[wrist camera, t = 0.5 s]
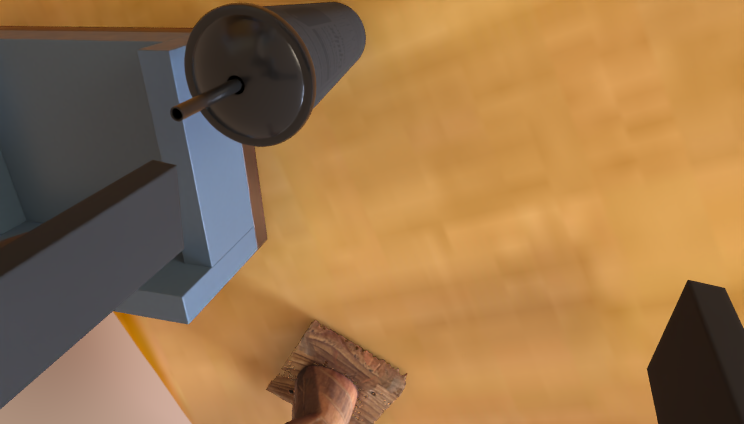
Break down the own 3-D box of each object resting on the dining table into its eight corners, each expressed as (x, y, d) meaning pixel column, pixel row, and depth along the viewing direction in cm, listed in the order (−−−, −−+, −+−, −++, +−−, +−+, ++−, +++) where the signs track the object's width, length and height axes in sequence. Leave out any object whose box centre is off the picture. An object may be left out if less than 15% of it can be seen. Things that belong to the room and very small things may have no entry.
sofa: (0, 26, 49) (-161, 54, 38) (238, 28, 43) (127, 63, 32) (61, 213, 58) (-55, 281, 47) (267, 239, 51) (188, 325, 40)
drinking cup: (275, -6, 41) (73, 42, 24) (370, -31, 38) (219, 3, 21) (303, 94, 44) (142, 201, 27) (393, 78, 41) (278, 185, 24)
